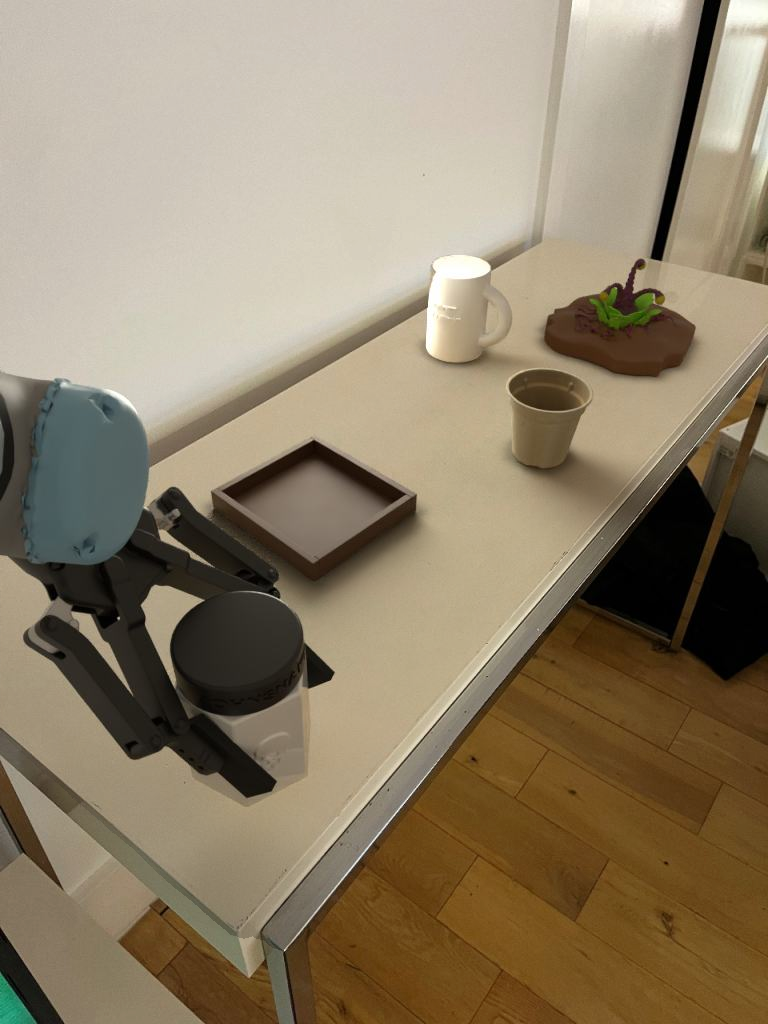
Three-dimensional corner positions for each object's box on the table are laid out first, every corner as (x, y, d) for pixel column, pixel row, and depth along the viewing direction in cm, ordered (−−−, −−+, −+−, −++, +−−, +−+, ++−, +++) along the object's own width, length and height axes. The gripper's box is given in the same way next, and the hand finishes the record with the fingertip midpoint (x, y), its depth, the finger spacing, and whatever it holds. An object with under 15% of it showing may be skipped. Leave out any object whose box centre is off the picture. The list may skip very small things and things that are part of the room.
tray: (314, 581, 74) (313, 564, 72) (213, 508, 82) (210, 490, 80) (416, 511, 82) (417, 493, 80) (315, 450, 90) (314, 434, 88)
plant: (712, 336, 113) (735, 261, 106) (655, 388, 102) (677, 308, 94) (589, 297, 123) (602, 226, 116) (524, 341, 111) (535, 265, 104)
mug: (492, 377, 103) (503, 291, 96) (414, 353, 108) (418, 270, 100) (517, 352, 109) (529, 269, 101) (442, 330, 113) (448, 250, 106)
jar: (216, 828, 50) (191, 716, 43) (173, 735, 56) (143, 621, 48) (337, 765, 54) (333, 652, 47) (285, 684, 60) (275, 571, 52)
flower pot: (481, 455, 90) (488, 390, 84) (525, 421, 95) (535, 358, 90) (551, 488, 85) (564, 422, 79) (594, 451, 91) (609, 387, 85)
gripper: (110, 424, 56) (322, 635, 62) (-136, 630, 40) (178, 885, 46) (162, 372, 51) (386, 607, 57) (-94, 583, 36) (250, 874, 42)
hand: (293, 731), depth 52 cm, fingers closed on jar, 8 cm apart
